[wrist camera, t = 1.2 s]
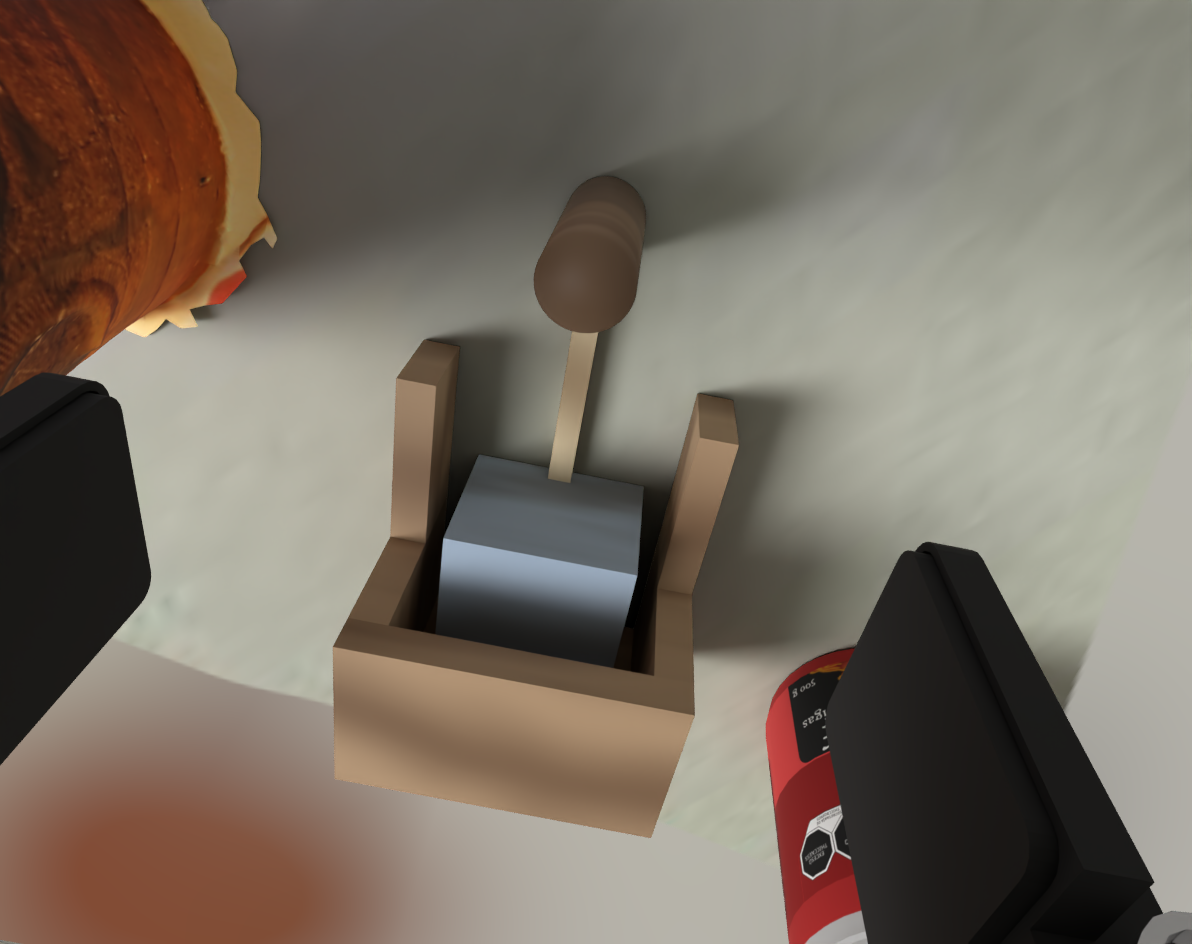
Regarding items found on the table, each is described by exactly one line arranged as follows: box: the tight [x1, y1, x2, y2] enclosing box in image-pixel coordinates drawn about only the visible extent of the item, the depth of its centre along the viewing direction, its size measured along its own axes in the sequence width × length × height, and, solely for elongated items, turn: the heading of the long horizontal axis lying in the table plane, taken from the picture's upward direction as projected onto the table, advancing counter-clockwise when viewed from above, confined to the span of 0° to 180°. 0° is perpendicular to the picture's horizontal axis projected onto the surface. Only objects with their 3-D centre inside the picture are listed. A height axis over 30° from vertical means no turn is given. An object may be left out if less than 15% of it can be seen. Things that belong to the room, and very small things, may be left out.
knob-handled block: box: [435, 176, 646, 668], centre depth 24 cm, size 16×6×6 cm, turn 170°
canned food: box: [766, 648, 868, 944], centre depth 28 cm, size 8×8×11 cm
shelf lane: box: [333, 340, 739, 838], centre depth 26 cm, size 12×10×8 cm
